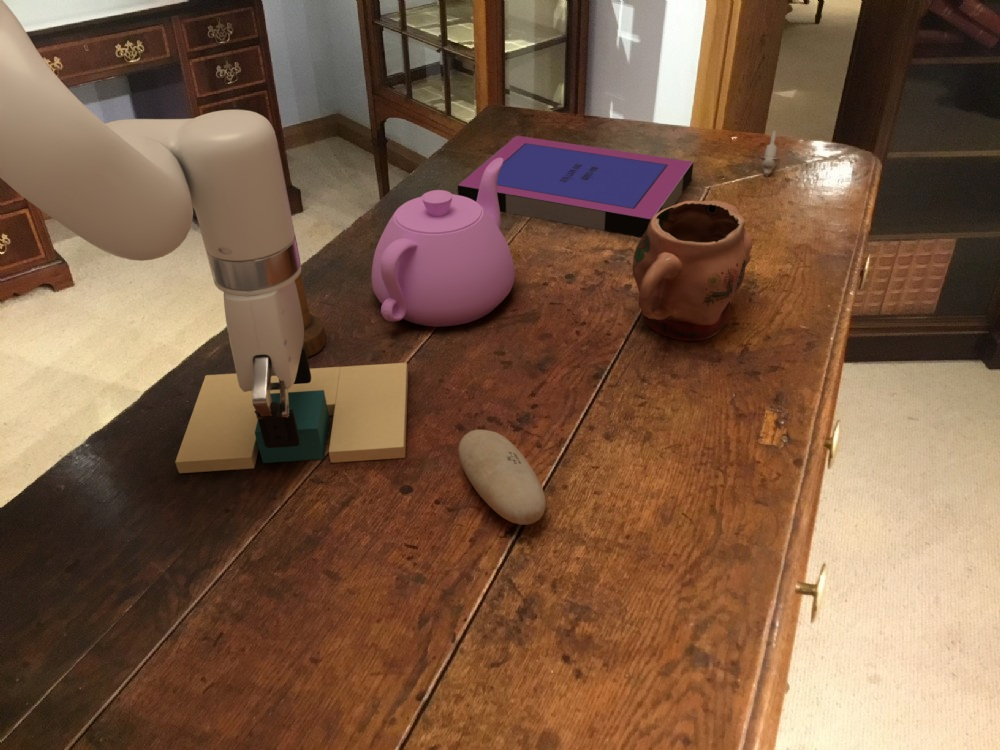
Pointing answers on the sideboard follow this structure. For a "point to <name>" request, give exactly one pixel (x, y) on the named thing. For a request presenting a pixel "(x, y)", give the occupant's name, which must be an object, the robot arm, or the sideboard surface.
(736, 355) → the sideboard surface
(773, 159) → the dog figurine
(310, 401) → the teal block
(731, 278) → the decorative planter
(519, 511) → the stone
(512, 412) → the sideboard surface
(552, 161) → the book
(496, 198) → the teapot
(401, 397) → the tan u-shaped block
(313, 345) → the mortar and pestle
